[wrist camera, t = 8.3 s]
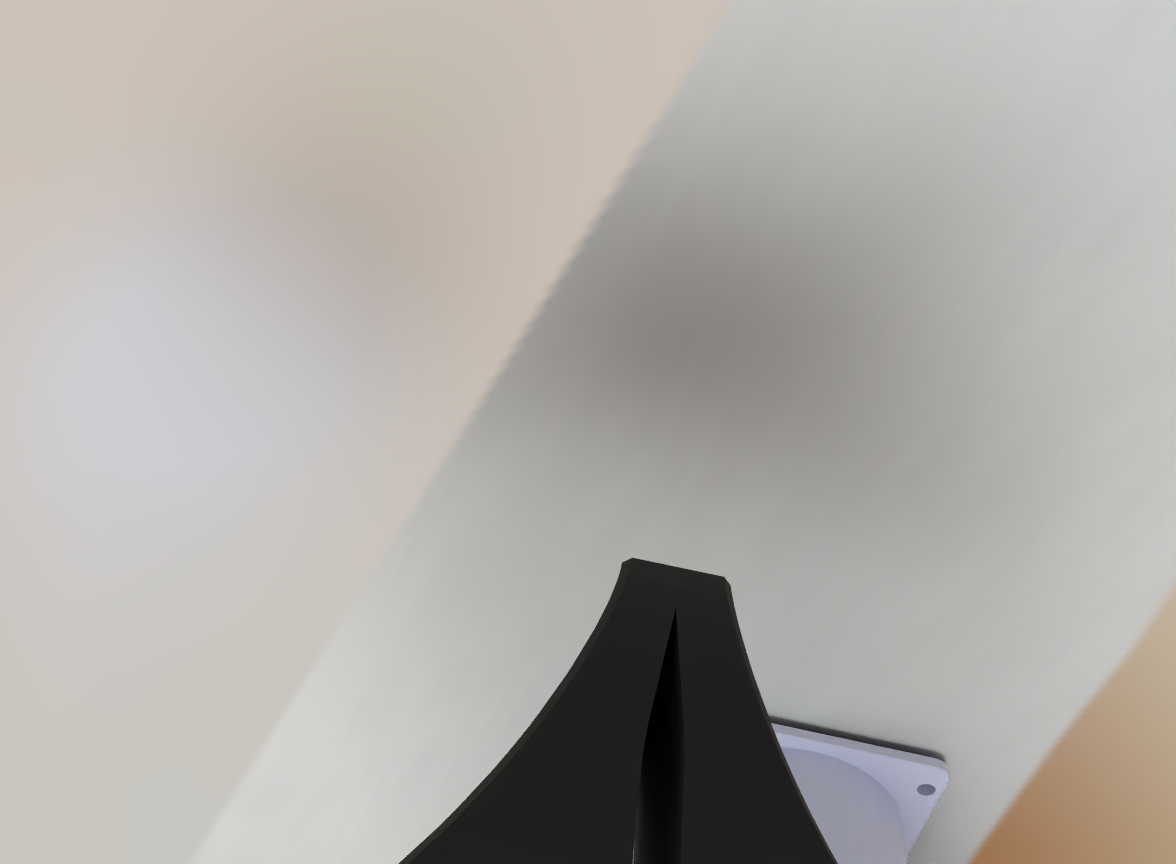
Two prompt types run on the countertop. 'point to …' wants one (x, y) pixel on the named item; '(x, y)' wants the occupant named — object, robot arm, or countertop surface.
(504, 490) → the countertop surface
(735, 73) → the countertop surface
